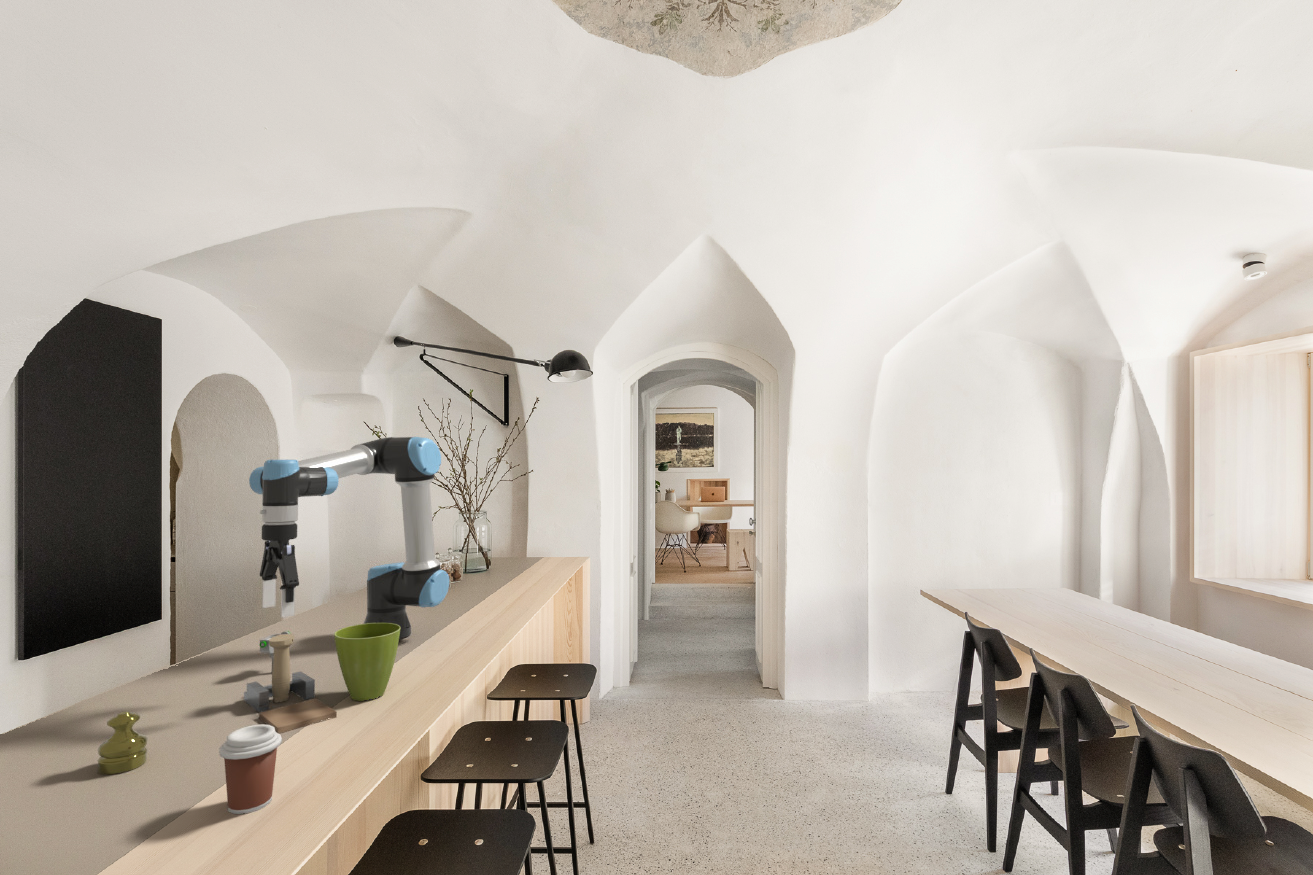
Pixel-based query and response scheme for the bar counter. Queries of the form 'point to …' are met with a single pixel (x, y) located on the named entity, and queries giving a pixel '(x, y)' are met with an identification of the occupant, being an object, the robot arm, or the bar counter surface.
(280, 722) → the walnut board
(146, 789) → the bar counter surface
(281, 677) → the handle
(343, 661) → the flower pot
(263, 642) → the mechanical component
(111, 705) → the bar counter surface
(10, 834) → the bar counter surface
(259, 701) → the vise
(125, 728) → the olive glossy bulbous piece
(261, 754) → the coffee cup
